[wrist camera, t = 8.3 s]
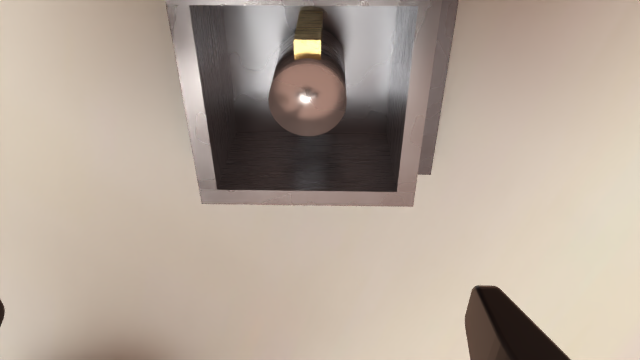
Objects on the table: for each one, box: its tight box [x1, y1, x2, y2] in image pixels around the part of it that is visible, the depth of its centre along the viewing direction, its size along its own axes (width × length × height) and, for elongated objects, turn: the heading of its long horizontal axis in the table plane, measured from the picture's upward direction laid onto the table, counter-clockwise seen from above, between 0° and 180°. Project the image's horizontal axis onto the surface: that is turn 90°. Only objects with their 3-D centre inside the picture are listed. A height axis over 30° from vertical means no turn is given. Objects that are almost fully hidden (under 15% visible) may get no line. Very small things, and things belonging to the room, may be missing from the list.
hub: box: [165, 0, 442, 207], centre depth 16 cm, size 7×7×4 cm
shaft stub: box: [222, 0, 458, 175], centre depth 16 cm, size 10×10×4 cm
